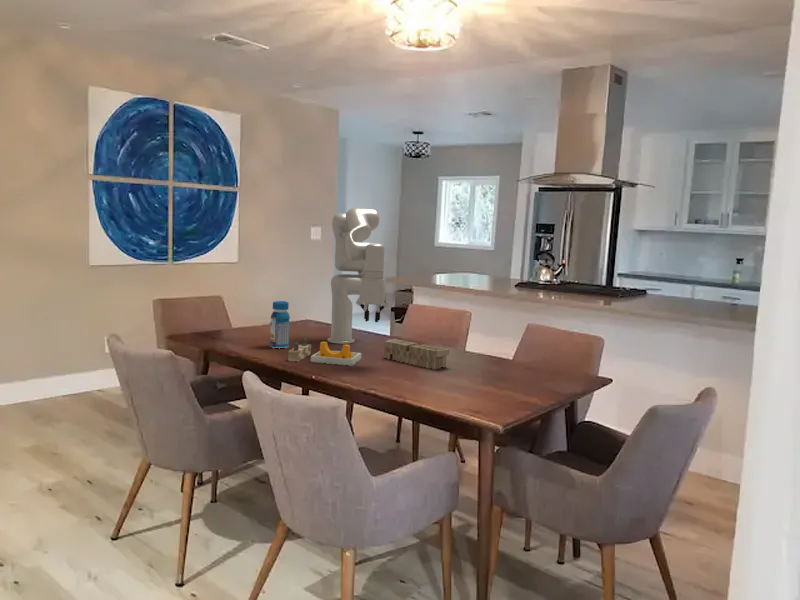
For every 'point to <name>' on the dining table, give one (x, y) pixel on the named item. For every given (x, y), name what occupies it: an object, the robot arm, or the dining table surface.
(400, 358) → the block tower
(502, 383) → the dining table surface
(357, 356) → the tray
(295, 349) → the block
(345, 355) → the pipe clamp
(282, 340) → the beverage bottle
